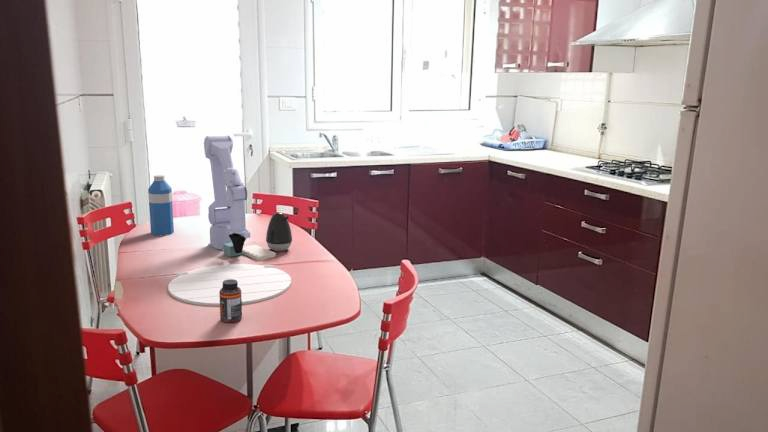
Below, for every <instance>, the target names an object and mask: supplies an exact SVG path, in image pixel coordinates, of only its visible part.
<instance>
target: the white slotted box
mask: <svg viewBox="0 0 768 432" xmlns="http://www.w3.org/2000/svg"><path fill="white" fill-rule="evenodd" d="M242 255H244V256H247V257H249V258H251V259H253V260H256V261H261V260H266V259H267V260H268V259H271V258H275V257H277V253H276V252H275V251H273V250H269V249H267V248H264V247H261V246H259V245H256V244H252V245H251V244H250V245H247V246H243V250H242Z"/></svg>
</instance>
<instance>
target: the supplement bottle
mask: <svg viewBox="0 0 768 432" xmlns="http://www.w3.org/2000/svg"><path fill="white" fill-rule="evenodd" d="M237 286H238V283H237V280H234V279H228V280H224V281H223V288H222V289H220V292H219V294H220V296H219V297H220V306H219V313H220V314H219V316H220V321H222V322H223V323H226V324H229V323H232V324H234V323H237V322H239V321H241V320H242V318H243V305H242V297H241V289H240V288H239V287H237Z"/></svg>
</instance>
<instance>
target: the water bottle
mask: <svg viewBox="0 0 768 432" xmlns="http://www.w3.org/2000/svg"><path fill="white" fill-rule="evenodd" d="M147 191H148V192H147V194H148V206H149V207H148V209H149V221H150V223H149V224H150V226H149V227H150V235H152V236H156V237H157V236H159V237H160V236H162V237H163V236H169V235H172V234H173V233H174V232H175V229H174V228H175V227H174V209H173V191H172V187H171V185H170V184H169V183H168V182H167V181H166V180H165V175H163V174H161V175H160V174H155V175H154V176H153V181H152V183H151V185H149V187H148V189H147Z"/></svg>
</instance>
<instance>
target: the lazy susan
mask: <svg viewBox="0 0 768 432" xmlns="http://www.w3.org/2000/svg"><path fill="white" fill-rule="evenodd" d="M222 262H223V263H222V264H219V265H212V266H206V267H200V268H197V269H193V270H190V271H184V272H178V273H176V275H175V276H176V277H174V278H173V279H172V280H171V281H170V282H169V283H168V288H167V289H168V290H167V291H168V293H169V294H170V296H172V297H173V298H175V300H178V301H181V302H184V303H187V304H193V305H198V306H205V307H206V306H209V307H212V306H213V307H220V297H219V296H220V294H219V292H220V289H222V288H223V281H224V280H228V279H234V280H237V283H238V286H237V287H239V288H240V289H241V297H242V306H243V305H249V304H254V303H259V302H263V301H267V300H270V299H273V298H277V297H278V296H280V295H283V294H284V293H285V292H287V291H288V290H289V289H290V288H291V286H292V277H291V276H290V275H289V274H288V273H287V272H286V271H284V270H282V269H279V268H275V267H276V266H275V265H273V264H267V265H266V264H264V265H261V264H260V265H259V264H250V263H241V264H240V263H235V264H234V263H233V264H232V263H231V264H230V262H229V261H227V260H223V261H222ZM288 288H289V289H288ZM287 289H288V290H287ZM286 290H287V291H286ZM284 291H285V292H284Z"/></svg>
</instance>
